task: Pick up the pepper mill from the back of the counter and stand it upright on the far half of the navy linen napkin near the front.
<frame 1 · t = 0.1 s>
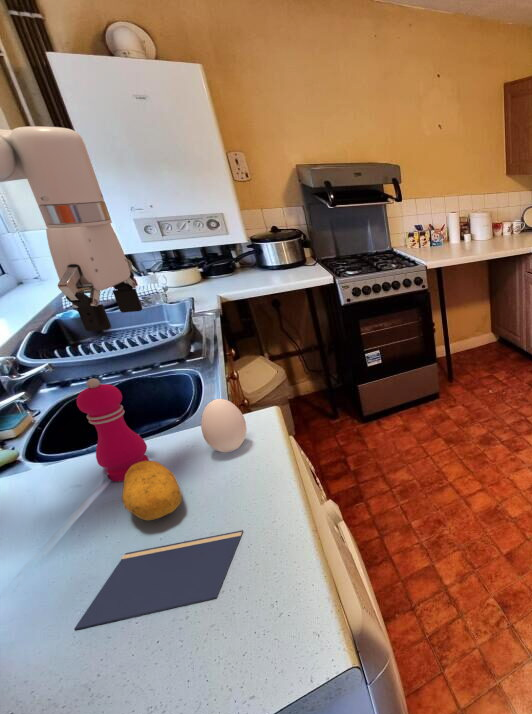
hand: (116, 320, 74), 31 cm above the countertop, tool pointing down, fingers open, 9 cm apart
napkin: (168, 575, 62), on the countertop
potato: (158, 508, 75), on the countertop
egg: (231, 450, 90), on the countertop
pepper mill: (130, 472, 84), on the countertop
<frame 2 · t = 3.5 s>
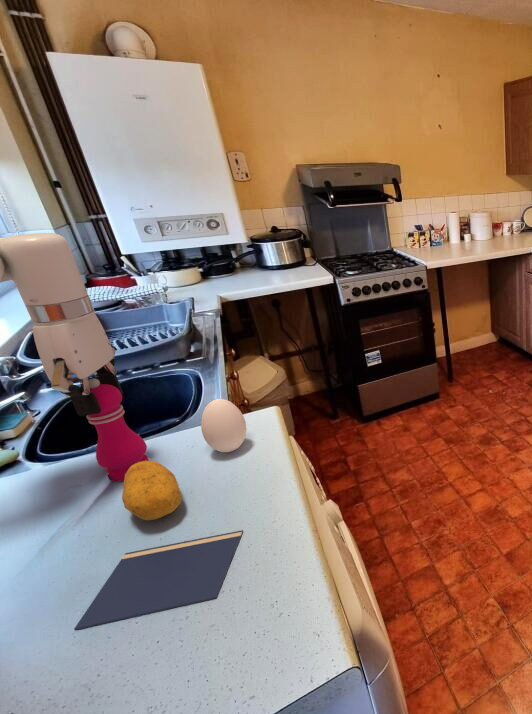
hand: (101, 403, 79), 15 cm above the countertop, tool pointing down, fingers closed on pepper mill, 6 cm apart
pepper mill: (130, 472, 84), on the countertop, touching gripper
everything else where it was.
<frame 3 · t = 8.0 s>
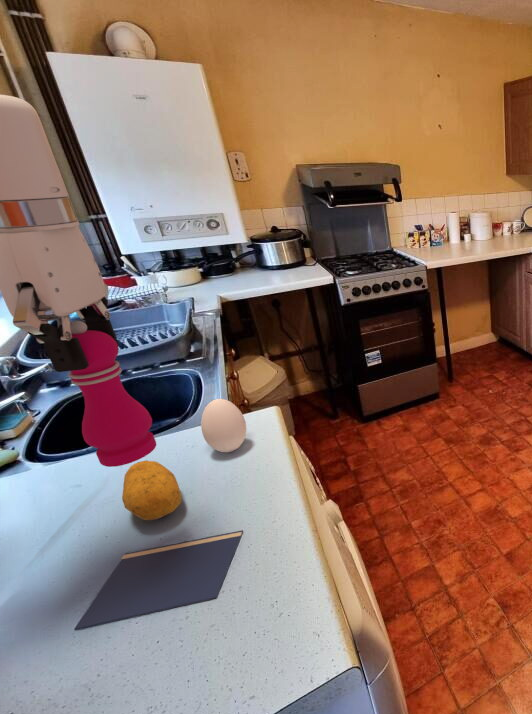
hand: (89, 357, 57), 32 cm above the countertop, tool pointing down, fingers closed on pepper mill, 6 cm apart
pepper mill: (129, 454, 62), point 16 cm above the countertop, touching gripper
everything else where it was.
when the fingers open (15 cm above the countertop, at t = 12.6 s): pepper mill stays where it is, resting on napkin.
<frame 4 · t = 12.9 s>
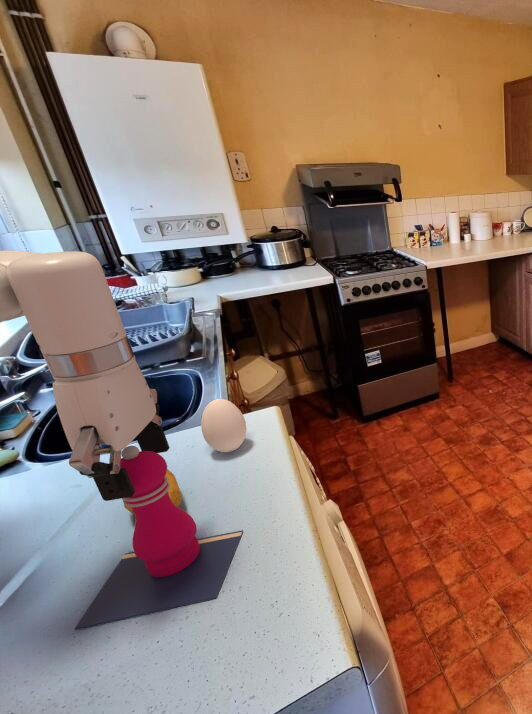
hand: (139, 473, 59), 16 cm above the countertop, tool pointing down, fingers open, 9 cm apart
pepper mill: (175, 560, 65), resting on napkin
everything else where it was.
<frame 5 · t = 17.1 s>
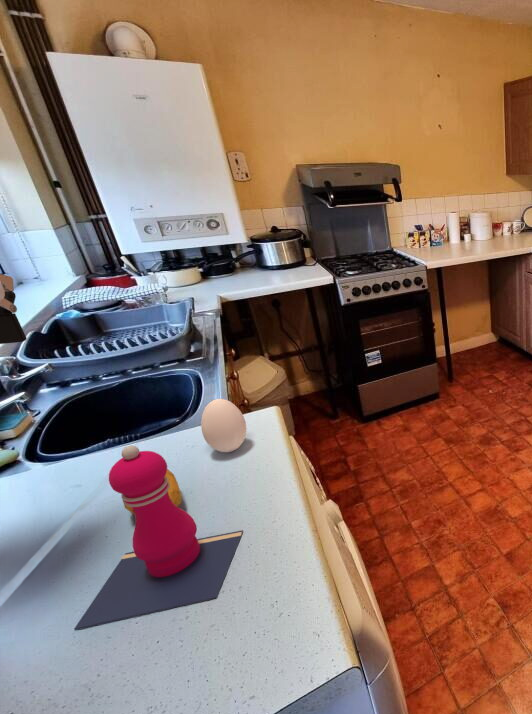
nothing on the countertop moved.
at the end: pepper mill inside the target area on the napkin (0.5 cm from its centre), point 0.1 cm above the napkin's base; pepper mill tilted 0°; the gripper is holding nothing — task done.
